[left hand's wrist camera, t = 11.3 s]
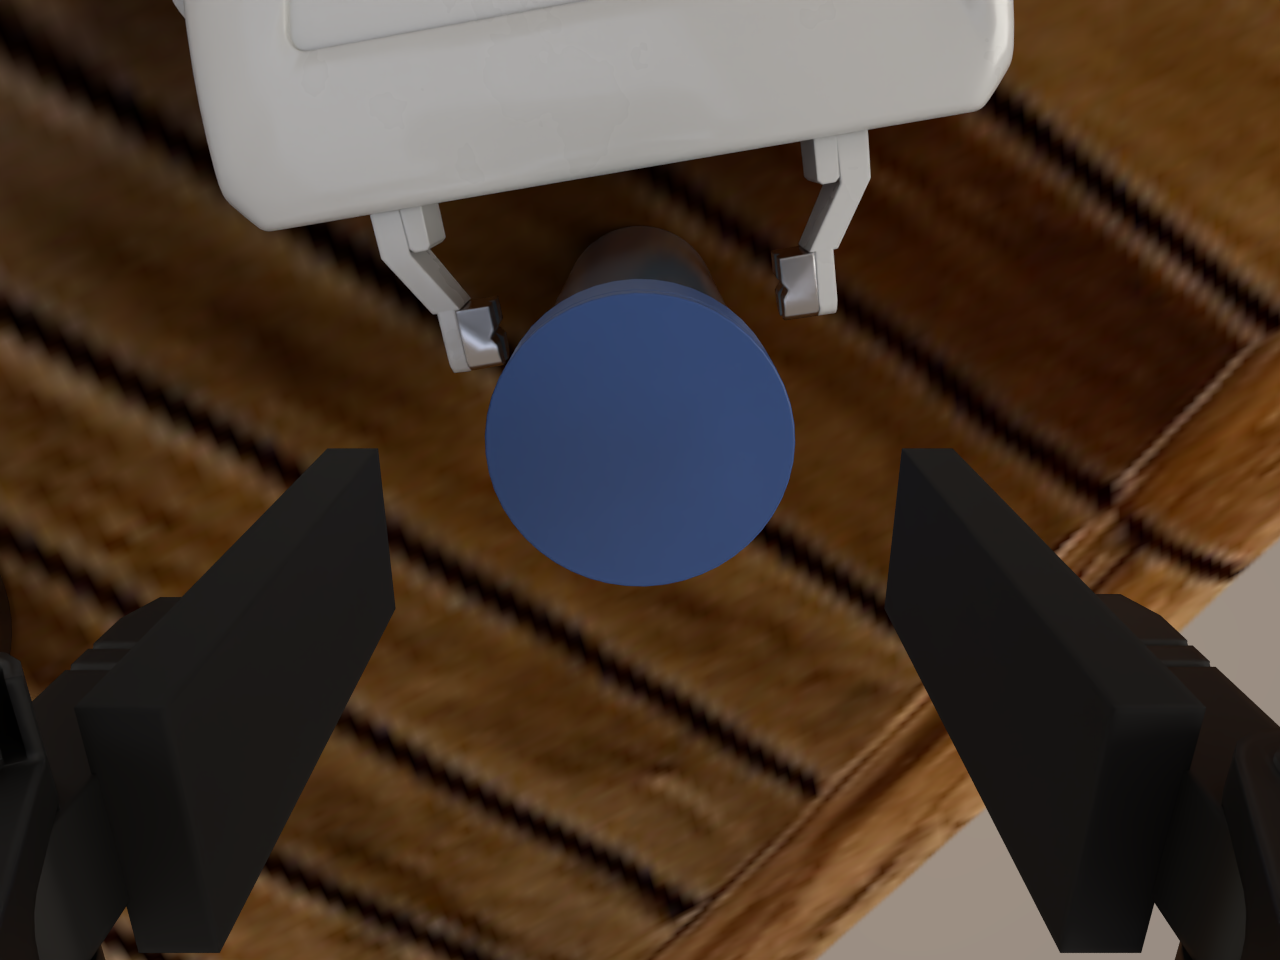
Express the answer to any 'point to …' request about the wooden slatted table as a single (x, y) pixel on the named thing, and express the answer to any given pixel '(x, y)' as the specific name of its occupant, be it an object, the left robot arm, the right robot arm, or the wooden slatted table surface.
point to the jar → (639, 262)
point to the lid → (640, 434)
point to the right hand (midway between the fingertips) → (643, 339)
